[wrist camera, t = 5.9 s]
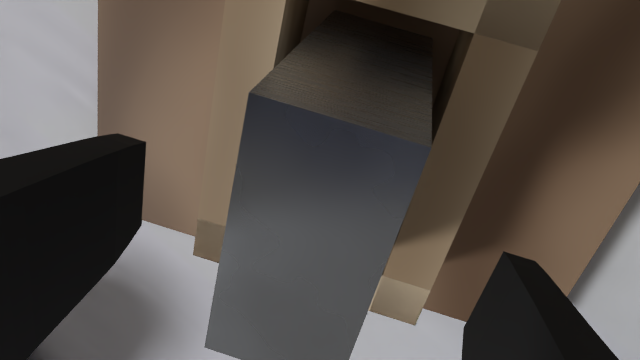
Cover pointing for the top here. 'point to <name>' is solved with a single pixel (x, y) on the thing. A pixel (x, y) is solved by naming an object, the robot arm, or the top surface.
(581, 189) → the wooden stepped base
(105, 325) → the top surface
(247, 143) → the grey rectangular block
